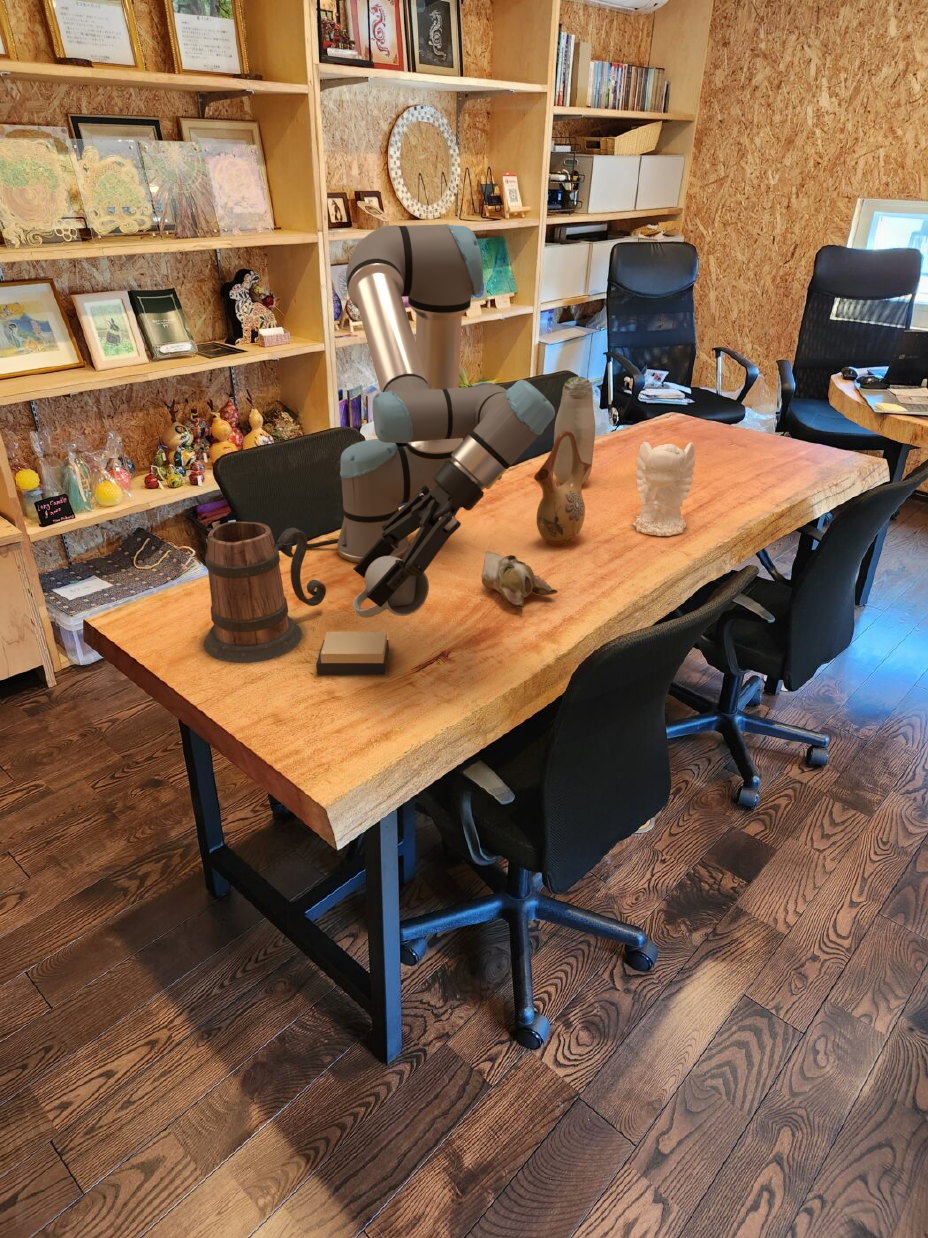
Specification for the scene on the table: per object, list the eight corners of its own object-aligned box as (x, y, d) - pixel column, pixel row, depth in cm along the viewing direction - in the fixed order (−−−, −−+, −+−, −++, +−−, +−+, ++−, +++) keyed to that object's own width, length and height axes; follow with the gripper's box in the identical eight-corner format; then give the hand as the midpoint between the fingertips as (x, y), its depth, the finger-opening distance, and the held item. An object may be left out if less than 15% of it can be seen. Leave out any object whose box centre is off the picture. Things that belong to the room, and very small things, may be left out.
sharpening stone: (317, 675, 134) (315, 653, 132) (324, 650, 141) (322, 630, 139) (385, 675, 134) (384, 654, 132) (388, 650, 141) (388, 630, 139)
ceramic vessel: (548, 558, 175) (555, 442, 164) (518, 546, 181) (522, 433, 170) (598, 538, 185) (608, 428, 173) (568, 527, 191) (575, 420, 179)
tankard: (234, 673, 134) (217, 560, 125) (186, 636, 145) (167, 529, 135) (351, 627, 148) (344, 522, 139) (300, 596, 159) (290, 497, 150)
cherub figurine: (623, 533, 188) (631, 446, 179) (631, 514, 199) (639, 432, 189) (681, 540, 184) (693, 452, 175) (687, 521, 195) (698, 437, 186)
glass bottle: (546, 481, 221) (551, 374, 208) (581, 477, 224) (588, 371, 210) (560, 493, 212) (567, 382, 199) (596, 489, 215) (606, 379, 202)
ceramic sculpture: (507, 535, 163) (563, 563, 153) (504, 574, 167) (558, 603, 158) (466, 550, 157) (522, 580, 147) (465, 590, 161) (519, 621, 152)
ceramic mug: (403, 589, 132) (400, 545, 128) (430, 608, 126) (429, 562, 122) (343, 608, 126) (339, 562, 123) (370, 628, 120) (366, 581, 117)
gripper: (510, 515, 113) (401, 633, 116) (462, 469, 132) (369, 572, 135) (473, 481, 109) (362, 605, 112) (430, 439, 128) (335, 546, 131)
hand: (366, 587), depth 124 cm, fingers closed on ceramic mug, 9 cm apart
